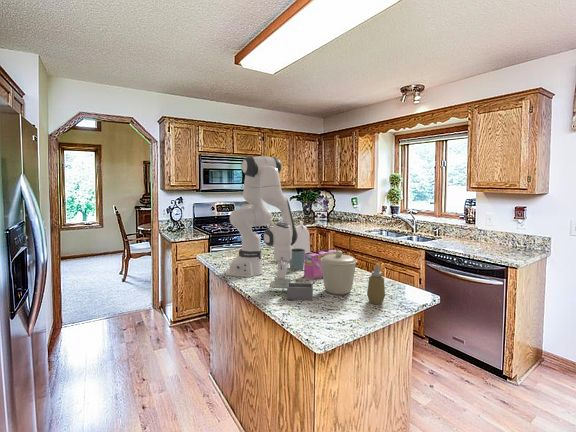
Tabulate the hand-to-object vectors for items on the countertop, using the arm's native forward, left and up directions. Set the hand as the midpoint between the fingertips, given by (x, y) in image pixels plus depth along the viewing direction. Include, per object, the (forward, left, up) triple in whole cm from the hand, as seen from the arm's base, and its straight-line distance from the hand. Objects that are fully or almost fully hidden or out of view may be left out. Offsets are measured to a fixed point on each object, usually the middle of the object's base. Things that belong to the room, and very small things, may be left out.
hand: (282, 282), depth 169 cm
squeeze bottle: (+44, -13, -5) cm, 46 cm away
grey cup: (+6, +43, -5) cm, 44 cm away
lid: (0, 0, -2) cm, 2 cm away
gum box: (+21, +32, -5) cm, 39 cm away
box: (+9, -9, -4) cm, 13 cm away
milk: (+8, +73, -5) cm, 74 cm away
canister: (+28, +1, -5) cm, 28 cm away
